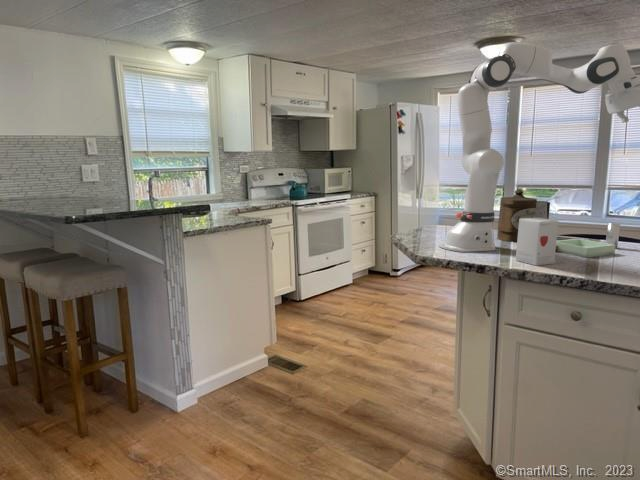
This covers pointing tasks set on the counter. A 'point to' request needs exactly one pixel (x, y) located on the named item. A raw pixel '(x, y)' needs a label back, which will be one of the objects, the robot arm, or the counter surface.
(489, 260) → the counter surface
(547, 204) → the coffee box
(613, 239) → the clear glass cylinder
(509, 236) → the wooden container
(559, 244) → the tray
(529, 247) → the supplement box
